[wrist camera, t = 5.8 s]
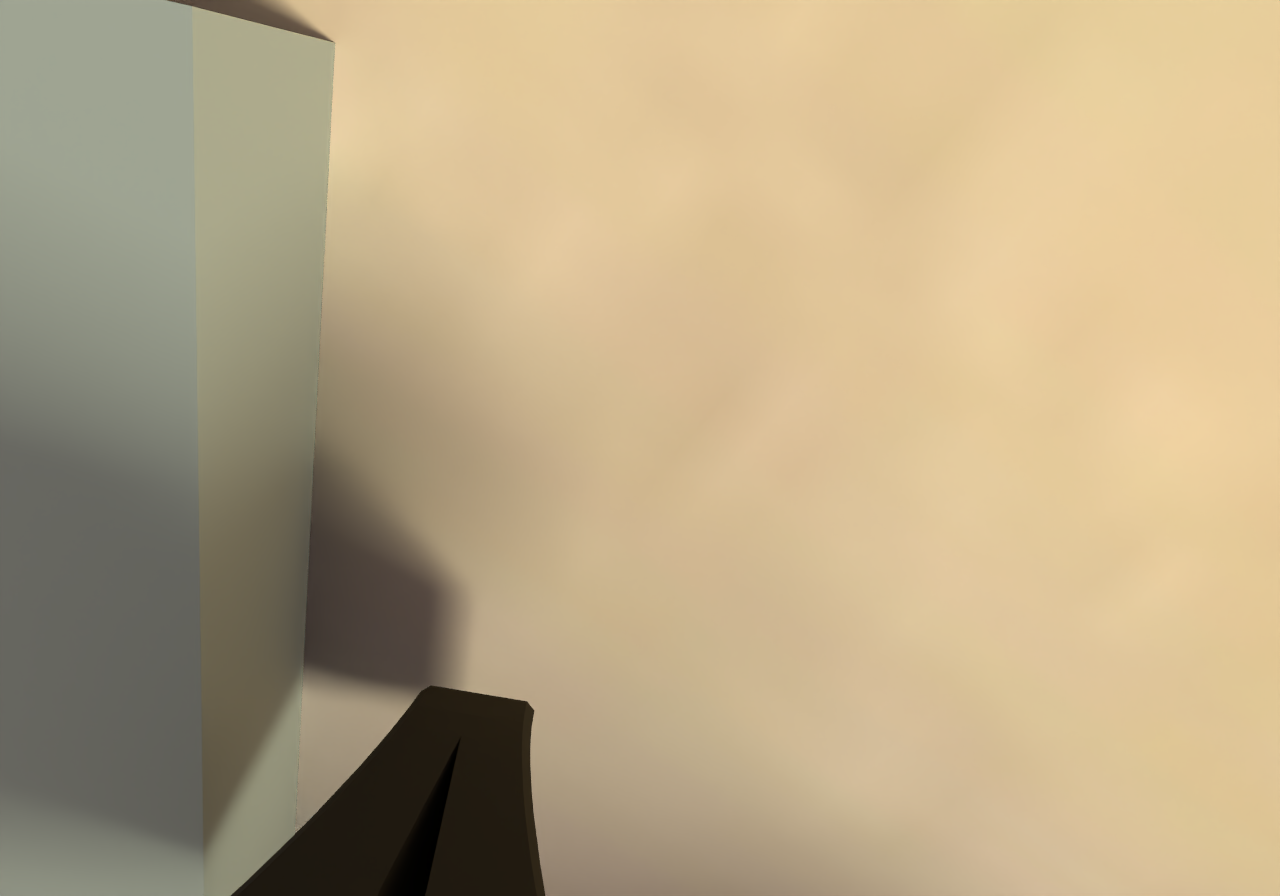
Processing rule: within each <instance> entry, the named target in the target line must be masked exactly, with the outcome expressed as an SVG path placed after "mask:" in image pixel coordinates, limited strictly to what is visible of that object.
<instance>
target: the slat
mask: <svg viewBox="0 0 1280 896" xmlns="http://www.w3.org/2000/svg"><path fill="white" fill-rule="evenodd" d="M334 53H335V43H334V42H330V41H326V40H322V39H318V38H314V37H310V36H306V35H303V34H299V33H295V32H291V31H287V30H283V29H279V28H275V27H271V26H267V25H263V24H260V23H256V22H252V21H248V20H244V19H240V18H236V17H232V16H228V15H224V14H220V13H217V12H213V11H209V10H205V9H201V8H197V7H193V6H189V5H184V4H180V3H176V2H171V1H167V0H0V896H231V895H232V894H233V893H234V892H235V891H236V890H237V889H238V888H239V887H240V886H242V885H243V884H244V883H245V882H246V881H247V880H248V879H249V878H250V877H251V876H252V875H253V874H254V873H255V872H256V871H257V870H258V869H259V868H260V867H262V866H263V865H264V864H265V863H266V862H267V861H268V860H269V859H270V858H271V857H272V856H273V855H274V854H275V853H276V852H277V851H278V850H279V849H280V848H281V847H282V846H283V845H284V844H285V843H286V842H287V841H288V840H289V839H290V838H292V837H293V836H294V835H295V824H296V804H297V784H298V765H299V745H300V725H301V705H302V685H303V666H304V646H305V626H306V606H307V587H308V567H309V547H310V527H311V508H312V488H313V468H314V448H315V429H316V409H317V389H318V369H319V349H320V330H321V310H322V290H323V270H324V251H325V231H326V211H327V191H328V172H329V152H330V132H331V112H332V93H333V73H334Z"/></svg>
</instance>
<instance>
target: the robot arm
mask: <svg viewBox="0 0 1280 896" xmlns="http://www.w3.org/2000/svg"><path fill="white" fill-rule="evenodd" d="M533 715H534V710H533V708H532V707H531V706H530V705H529V703H528V702H527V701H521V700H514V699H508V698H502V697H496V696H490V695H484V694H478V693H472V692H466V691H460V690H454V689H448V688H442V687H436V686H429V687H428V688H426V689H424V690H422V691H421V692H420V693H419V695H418V696H417V697H416V699H415V700H414V702H413V703H412V704H411V706H410V707H409V708H408V710H407V711H406V712H405V713H404V715H403V716H402V717H401V718H400V720H399V721H398V722H397V723H396V725H395V726H394V727H393V728H392V730H391V731H390V732H389V733H388V734H387V736H386V737H385V738H384V739H383V740H382V741H381V743H380V744H379V745H378V746H377V747H376V748H375V750H374V751H373V752H372V753H371V754H370V755H369V756H368V758H367V759H366V760H365V761H364V762H363V763H362V764H361V766H360V767H359V768H358V769H357V770H356V771H355V772H354V773H353V774H352V775H351V776H350V777H349V778H348V780H347V781H346V782H345V783H344V784H343V785H342V786H341V787H340V788H339V789H338V790H337V791H336V792H335V793H334V795H333V796H332V797H331V798H330V799H329V800H328V801H327V802H326V803H325V804H324V805H323V806H322V807H321V808H320V809H319V811H318V812H317V813H316V814H315V815H314V816H313V817H312V818H311V819H310V820H309V821H308V822H307V823H306V824H305V825H304V826H303V827H302V828H301V829H300V830H299V831H298V832H297V833H296V834H295V835H294V836H293V837H292V838H290V839H289V840H288V841H287V842H286V843H285V844H284V845H283V846H282V847H281V848H280V849H279V850H278V851H277V852H276V853H275V854H274V855H273V856H272V857H271V858H270V859H269V860H268V861H267V862H266V863H265V864H264V865H263V866H262V867H260V868H259V869H258V870H257V871H256V872H255V873H254V874H253V875H252V876H251V877H250V878H249V879H248V880H247V881H246V882H245V883H244V884H243V885H242V886H240V887H239V888H238V889H237V890H236V891H235V892H234V893H233V894H232V895H231V896H545V891H544V885H543V879H542V873H541V867H540V860H539V852H538V844H537V837H536V829H535V822H534V813H533V803H532V790H531V771H530V739H531V727H532V721H533Z"/></svg>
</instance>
